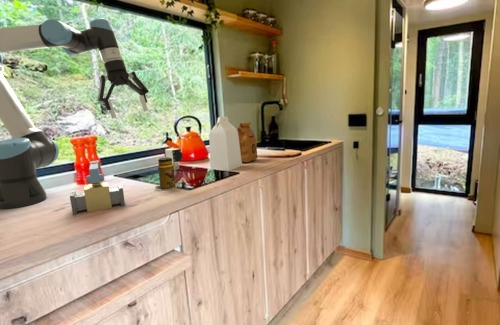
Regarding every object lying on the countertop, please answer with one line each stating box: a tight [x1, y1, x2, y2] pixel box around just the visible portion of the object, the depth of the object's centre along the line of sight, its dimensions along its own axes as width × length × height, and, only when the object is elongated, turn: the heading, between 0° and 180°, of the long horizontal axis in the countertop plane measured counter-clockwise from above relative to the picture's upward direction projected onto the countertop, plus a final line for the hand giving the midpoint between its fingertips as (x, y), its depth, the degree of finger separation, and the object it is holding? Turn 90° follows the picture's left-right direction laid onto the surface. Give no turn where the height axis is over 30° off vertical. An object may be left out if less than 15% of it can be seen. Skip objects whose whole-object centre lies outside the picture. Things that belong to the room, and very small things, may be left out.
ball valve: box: [69, 181, 126, 216], centre depth 97 cm, size 15×7×9 cm, turn 117°
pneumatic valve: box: [163, 146, 184, 171], centre depth 155 cm, size 6×12×12 cm, turn 42°
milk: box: [208, 116, 243, 172], centre depth 151 cm, size 12×12×26 cm
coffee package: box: [236, 121, 258, 164], centre depth 165 cm, size 10×12×22 cm
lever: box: [86, 160, 105, 184], centre depth 102 cm, size 5×17×5 cm, turn 27°
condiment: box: [154, 157, 178, 192], centre depth 118 cm, size 7×8×12 cm
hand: (130, 114), depth 120 cm, fingers open, 13 cm apart
